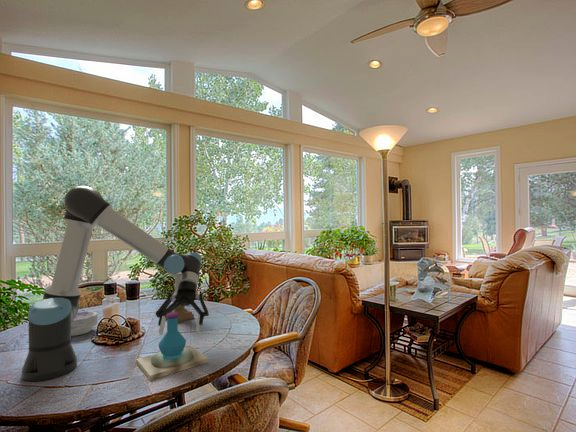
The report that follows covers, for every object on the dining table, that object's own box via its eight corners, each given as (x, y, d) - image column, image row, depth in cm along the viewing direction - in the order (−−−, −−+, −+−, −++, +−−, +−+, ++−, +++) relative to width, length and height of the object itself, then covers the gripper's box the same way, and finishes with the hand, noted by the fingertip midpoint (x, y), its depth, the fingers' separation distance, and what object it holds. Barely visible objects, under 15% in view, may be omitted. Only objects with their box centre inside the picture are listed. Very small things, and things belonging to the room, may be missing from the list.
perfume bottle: (158, 353, 117) (158, 311, 117) (184, 348, 121) (184, 308, 121) (159, 363, 109) (159, 318, 109) (187, 358, 113) (187, 315, 113)
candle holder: (175, 323, 158) (175, 275, 158) (163, 319, 165) (163, 272, 165) (194, 317, 167) (194, 272, 167) (182, 314, 174) (181, 270, 174)
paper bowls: (89, 324, 157) (90, 308, 157) (102, 331, 147) (102, 314, 147) (52, 333, 145) (52, 316, 145) (63, 341, 136) (63, 322, 136)
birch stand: (150, 380, 102) (150, 372, 102) (136, 363, 115) (136, 356, 115) (208, 362, 115) (208, 355, 115) (190, 348, 127) (190, 342, 127)
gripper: (218, 289, 140) (213, 336, 125) (160, 290, 138) (147, 338, 123) (216, 279, 135) (211, 327, 120) (155, 280, 133) (142, 329, 118)
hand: (178, 333), depth 122 cm, fingers open, 13 cm apart
